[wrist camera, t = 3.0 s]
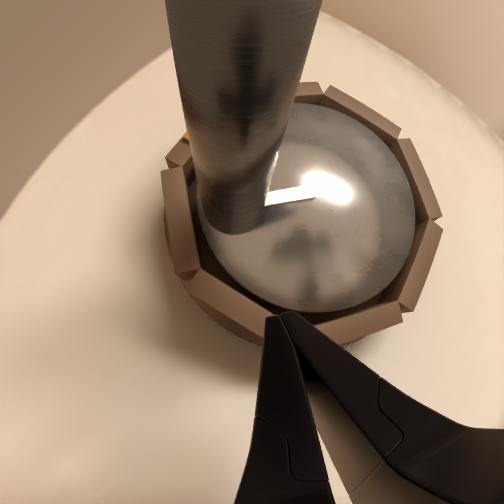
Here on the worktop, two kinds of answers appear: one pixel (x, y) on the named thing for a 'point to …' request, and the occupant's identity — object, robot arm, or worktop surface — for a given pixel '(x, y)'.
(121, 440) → the worktop surface
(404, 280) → the dial housing
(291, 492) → the robot arm
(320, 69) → the worktop surface
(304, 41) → the dial
